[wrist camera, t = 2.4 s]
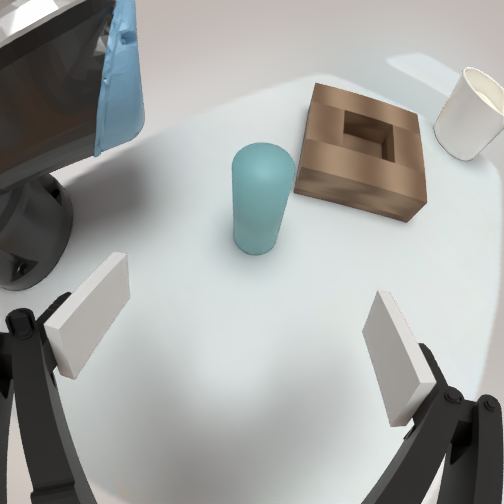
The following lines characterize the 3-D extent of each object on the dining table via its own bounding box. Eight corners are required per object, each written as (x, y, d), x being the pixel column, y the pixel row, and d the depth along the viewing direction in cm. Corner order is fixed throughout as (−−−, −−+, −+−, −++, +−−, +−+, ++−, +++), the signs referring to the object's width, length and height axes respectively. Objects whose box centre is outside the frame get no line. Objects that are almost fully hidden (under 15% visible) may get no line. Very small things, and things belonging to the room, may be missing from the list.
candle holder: (418, 119, 41) (450, 64, 30) (454, 115, 42) (486, 69, 31) (453, 170, 38) (497, 119, 26) (486, 161, 39) (526, 117, 28)
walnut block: (293, 192, 35) (301, 166, 30) (308, 109, 40) (315, 82, 35) (406, 222, 34) (427, 202, 29) (403, 137, 39) (417, 114, 34)
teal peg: (229, 249, 32) (224, 185, 21) (239, 211, 34) (240, 137, 22) (272, 259, 32) (289, 199, 21) (280, 220, 33) (299, 149, 22)
